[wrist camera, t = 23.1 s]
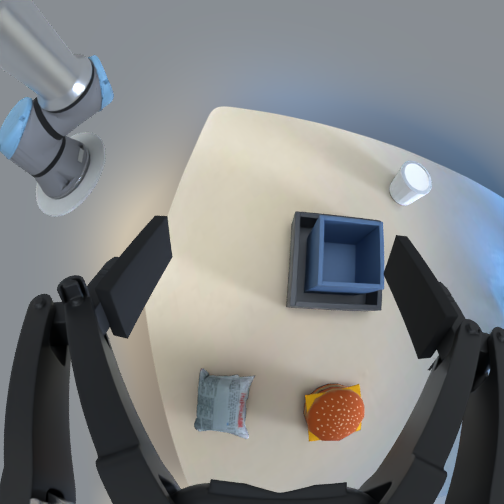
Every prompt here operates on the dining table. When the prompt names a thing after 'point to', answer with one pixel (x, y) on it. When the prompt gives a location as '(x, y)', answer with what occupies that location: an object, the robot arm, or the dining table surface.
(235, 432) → the packaged food
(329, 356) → the dining table surface
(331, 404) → the hamburger
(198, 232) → the dining table surface
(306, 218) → the charcoal bin
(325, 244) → the blue bin
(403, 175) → the white cup
